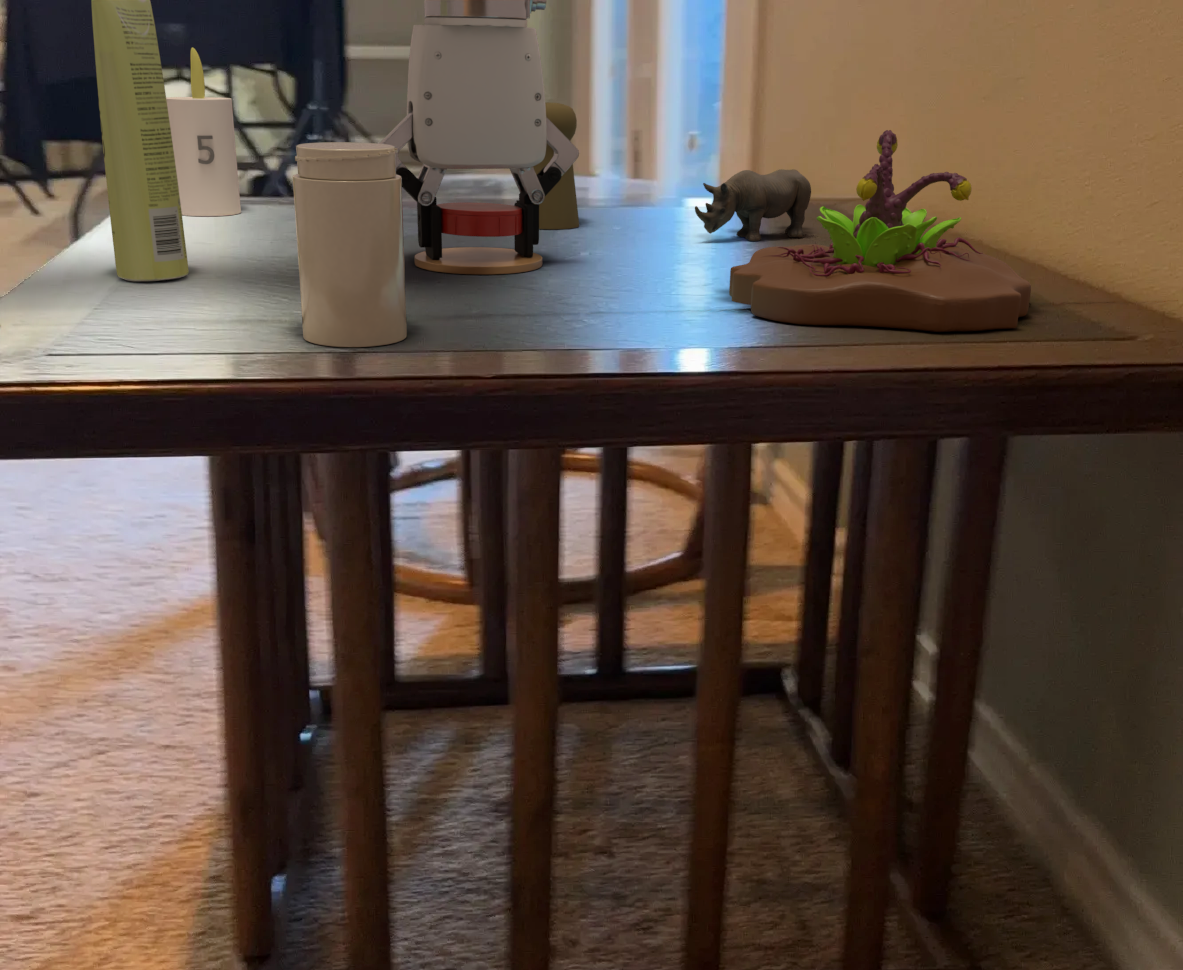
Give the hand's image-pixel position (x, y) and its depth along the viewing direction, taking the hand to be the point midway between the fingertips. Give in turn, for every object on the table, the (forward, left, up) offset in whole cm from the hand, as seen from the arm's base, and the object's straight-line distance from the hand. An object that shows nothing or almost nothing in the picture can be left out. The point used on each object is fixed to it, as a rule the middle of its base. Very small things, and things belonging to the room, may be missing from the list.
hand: (479, 254), depth 101 cm
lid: (0, 0, +3) cm, 3 cm away
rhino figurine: (+27, +13, -1) cm, 30 cm away
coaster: (0, 0, -1) cm, 1 cm away
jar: (-11, -26, -1) cm, 28 cm away
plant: (+25, -19, -1) cm, 31 cm away
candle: (-22, +34, -1) cm, 41 cm away
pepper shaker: (+10, +23, -1) cm, 25 cm away
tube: (-24, -4, -1) cm, 24 cm away
